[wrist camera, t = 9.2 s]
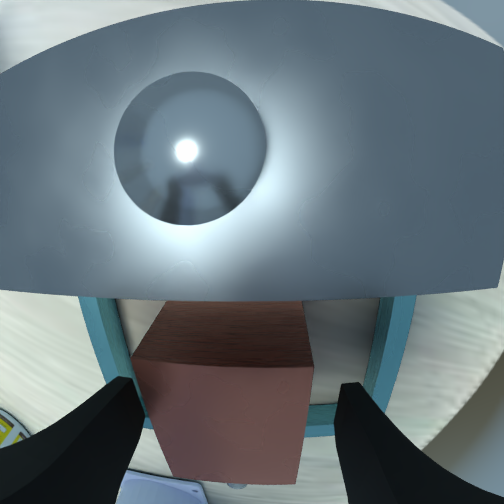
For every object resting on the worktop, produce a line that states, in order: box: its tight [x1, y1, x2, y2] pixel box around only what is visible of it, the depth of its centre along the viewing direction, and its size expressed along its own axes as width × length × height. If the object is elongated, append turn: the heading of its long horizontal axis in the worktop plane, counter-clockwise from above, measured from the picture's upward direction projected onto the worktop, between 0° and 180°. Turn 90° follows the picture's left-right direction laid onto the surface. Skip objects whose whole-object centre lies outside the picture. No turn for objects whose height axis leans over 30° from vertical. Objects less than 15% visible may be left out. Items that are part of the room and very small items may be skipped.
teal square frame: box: [0, 0, 504, 437], centre depth 9 cm, size 16×14×7 cm
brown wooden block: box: [130, 300, 314, 489], centre depth 11 cm, size 8×4×6 cm, turn 1°
